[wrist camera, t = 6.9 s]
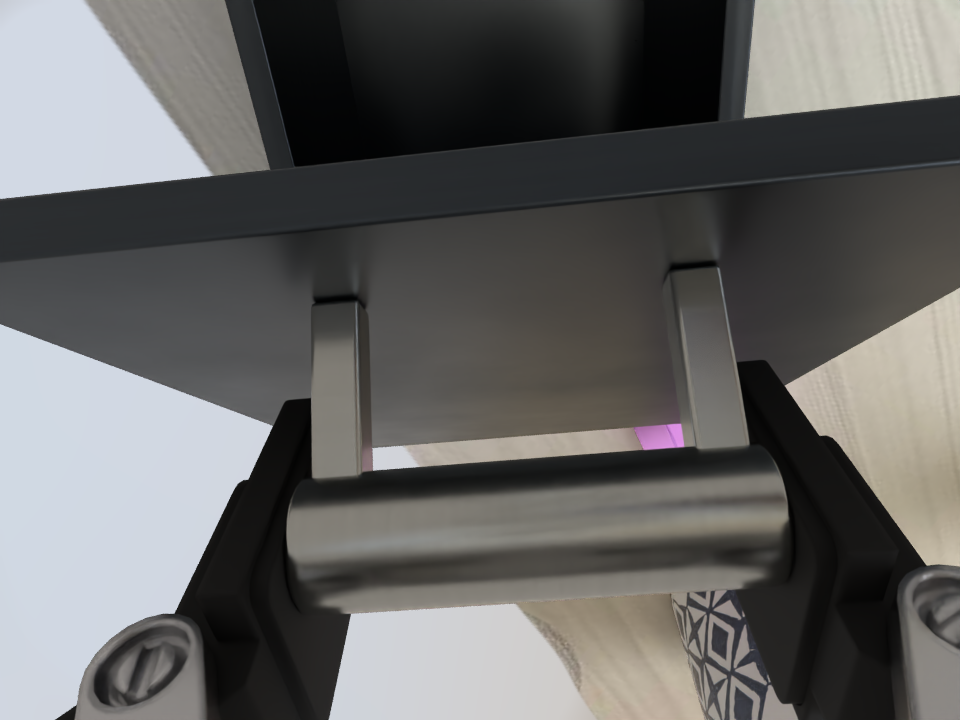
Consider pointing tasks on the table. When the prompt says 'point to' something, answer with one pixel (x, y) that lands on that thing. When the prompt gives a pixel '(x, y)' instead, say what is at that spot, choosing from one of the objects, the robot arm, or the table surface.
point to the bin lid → (513, 333)
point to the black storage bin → (482, 71)
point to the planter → (725, 659)
